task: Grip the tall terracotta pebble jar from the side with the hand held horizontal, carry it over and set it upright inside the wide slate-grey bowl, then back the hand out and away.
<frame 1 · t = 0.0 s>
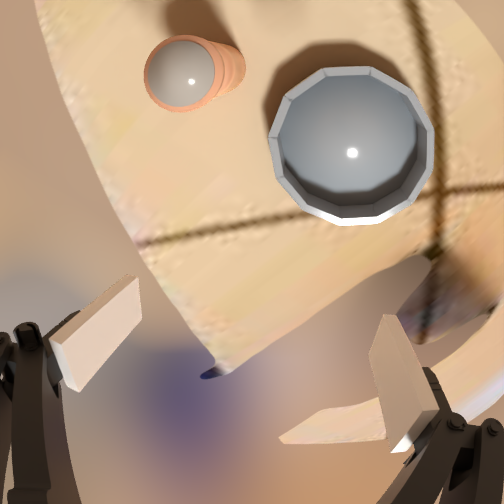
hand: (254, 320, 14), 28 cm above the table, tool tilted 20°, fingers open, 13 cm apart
terracotta jar: (218, 68, 30), on the table
slate bowl: (351, 141, 33), on the table
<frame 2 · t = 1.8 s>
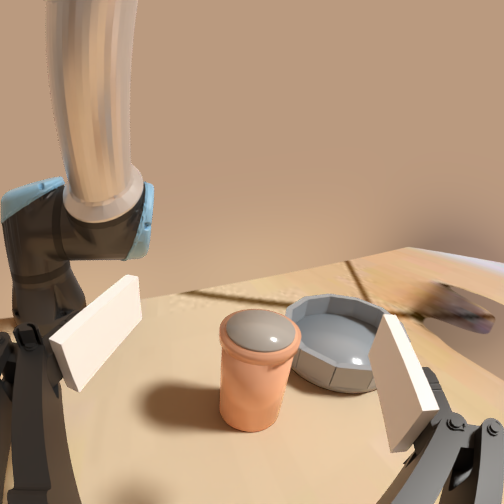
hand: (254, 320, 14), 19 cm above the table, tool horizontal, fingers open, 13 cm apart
terracotta jar: (249, 408, 30), on the table
slate bowl: (341, 348, 42), on the table
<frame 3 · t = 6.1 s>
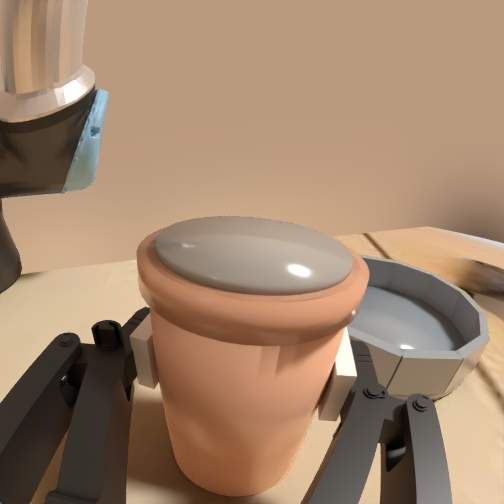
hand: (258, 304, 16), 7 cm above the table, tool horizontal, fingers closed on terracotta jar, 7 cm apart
terracotta jar: (234, 445, 14), on the table, touching gripper
slate bowl: (386, 332, 26), on the table
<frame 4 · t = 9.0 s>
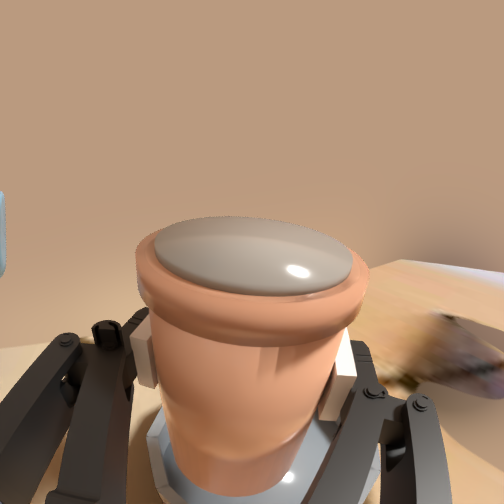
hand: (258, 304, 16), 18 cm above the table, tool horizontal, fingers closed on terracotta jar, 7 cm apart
terracotta jar: (233, 446, 13), point 11 cm above the table, touching gripper
slate bowl: (262, 462, 22), on the table
when the fingers open (9 cm above the table, at t = 11.9 s): terracotta jar drops 1 cm, resting on slate bowl.
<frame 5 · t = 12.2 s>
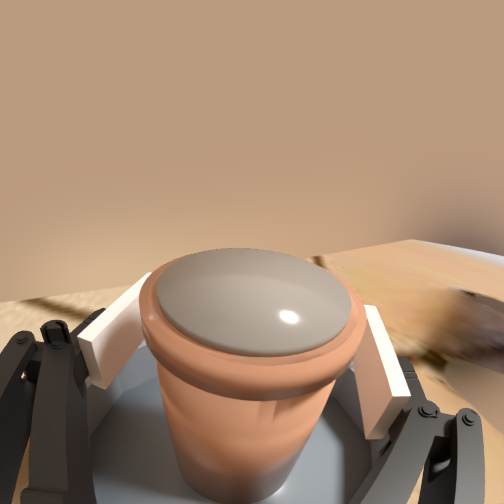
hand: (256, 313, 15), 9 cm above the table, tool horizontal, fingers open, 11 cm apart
terracotta jar: (234, 457, 14), point 1 cm above the table, touching slate bowl
slate bowl: (232, 462, 14), on the table
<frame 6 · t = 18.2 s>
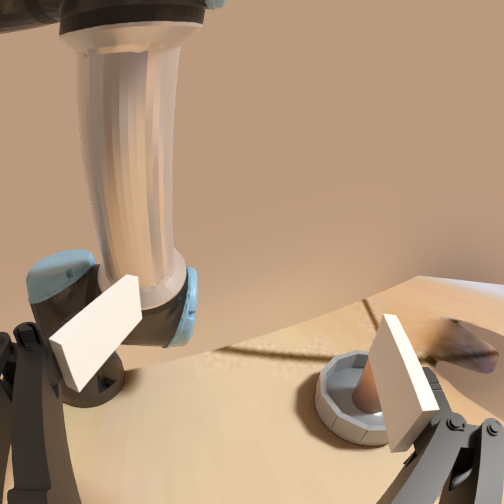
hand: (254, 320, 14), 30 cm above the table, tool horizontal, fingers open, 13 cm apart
terracotta jar: (369, 399, 43), point 1 cm above the table, touching slate bowl
slate bowl: (367, 402, 43), on the table
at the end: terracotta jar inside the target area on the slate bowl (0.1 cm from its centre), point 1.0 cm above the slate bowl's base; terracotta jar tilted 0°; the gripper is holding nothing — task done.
